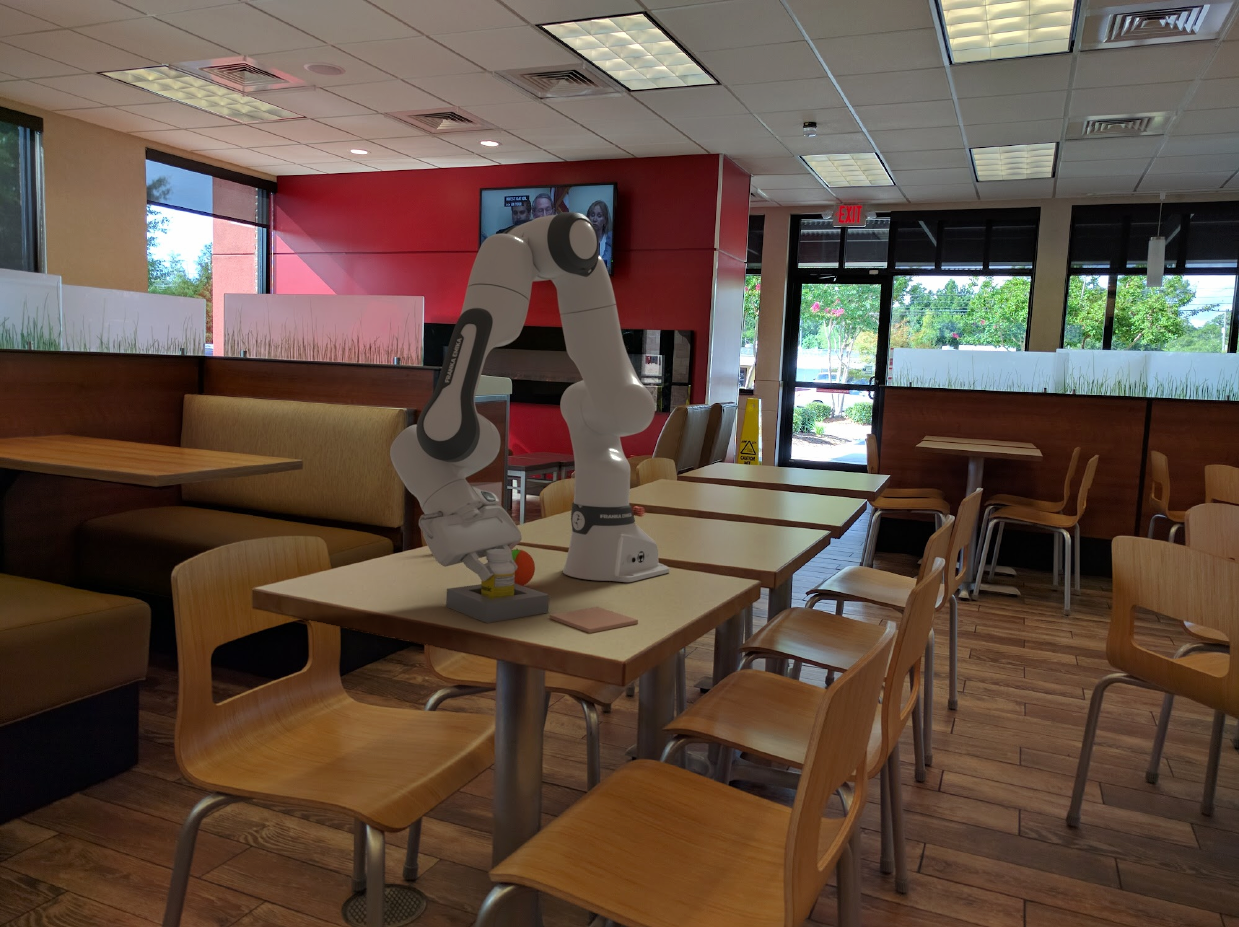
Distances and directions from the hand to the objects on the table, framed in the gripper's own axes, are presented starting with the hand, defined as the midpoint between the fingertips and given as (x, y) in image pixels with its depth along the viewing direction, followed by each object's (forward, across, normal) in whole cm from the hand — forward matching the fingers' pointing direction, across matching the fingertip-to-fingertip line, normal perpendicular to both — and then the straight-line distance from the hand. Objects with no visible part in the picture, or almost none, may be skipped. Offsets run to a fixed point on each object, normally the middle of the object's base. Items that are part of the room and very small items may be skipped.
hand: (501, 574), depth 143 cm
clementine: (-1, +16, +10) cm, 18 cm away
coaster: (+15, +3, -7) cm, 17 cm away
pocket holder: (+4, 0, +5) cm, 6 cm away
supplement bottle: (+4, 0, +5) cm, 6 cm away
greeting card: (-19, +41, +28) cm, 53 cm away
